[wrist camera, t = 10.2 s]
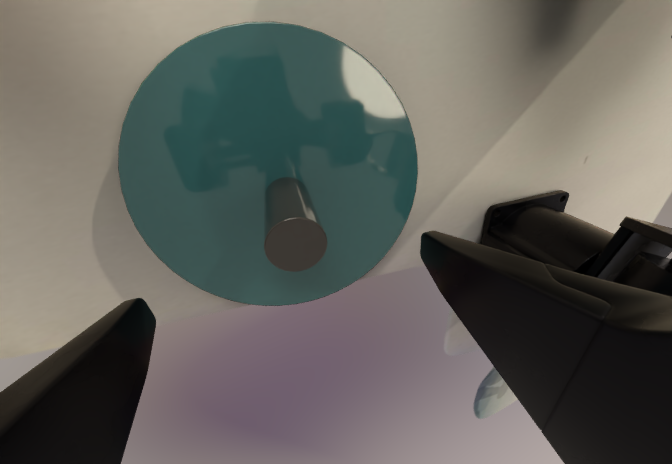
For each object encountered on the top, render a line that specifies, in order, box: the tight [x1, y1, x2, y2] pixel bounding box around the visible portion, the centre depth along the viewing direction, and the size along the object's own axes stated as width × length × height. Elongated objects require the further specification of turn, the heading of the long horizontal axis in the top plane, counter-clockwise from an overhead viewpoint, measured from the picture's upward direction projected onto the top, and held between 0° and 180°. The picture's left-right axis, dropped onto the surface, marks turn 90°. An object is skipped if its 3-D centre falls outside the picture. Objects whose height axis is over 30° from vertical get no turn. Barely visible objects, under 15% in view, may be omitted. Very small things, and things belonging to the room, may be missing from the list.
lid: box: [118, 22, 418, 306], centre depth 13 cm, size 15×15×6 cm
